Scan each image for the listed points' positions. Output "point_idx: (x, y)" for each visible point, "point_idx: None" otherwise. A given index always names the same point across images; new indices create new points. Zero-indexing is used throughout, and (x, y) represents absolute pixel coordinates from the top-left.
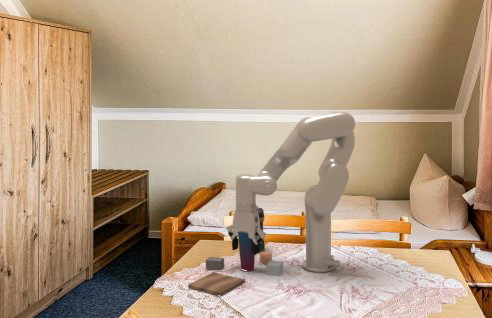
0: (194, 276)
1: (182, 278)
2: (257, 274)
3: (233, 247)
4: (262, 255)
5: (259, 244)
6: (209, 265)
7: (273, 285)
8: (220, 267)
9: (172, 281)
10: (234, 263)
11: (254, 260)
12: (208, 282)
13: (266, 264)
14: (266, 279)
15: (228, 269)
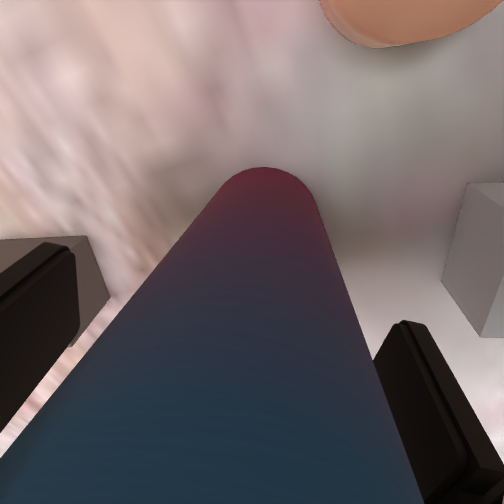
0: (45, 382)
1: (20, 407)
2: (370, 293)
3: (52, 353)
4: (393, 38)
5: (501, 488)
6: None
7: (498, 408)
8: (96, 313)
9: (14, 433)
10: (91, 115)
11: (326, 234)
12: None
13: (480, 336)
14: (447, 350)
15: (134, 258)
